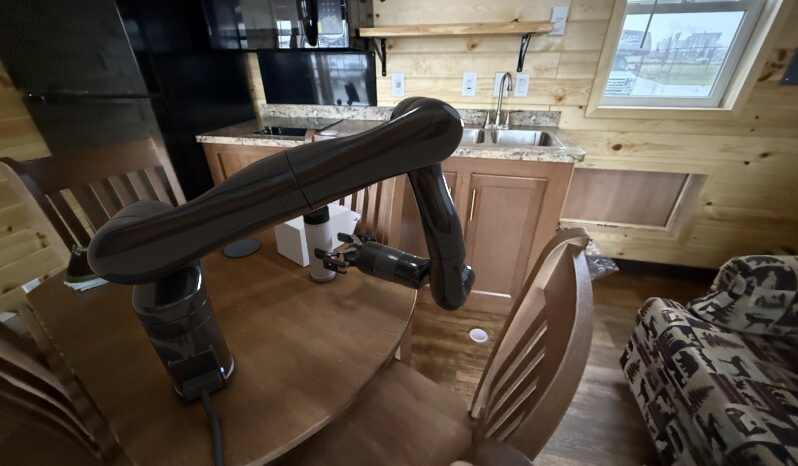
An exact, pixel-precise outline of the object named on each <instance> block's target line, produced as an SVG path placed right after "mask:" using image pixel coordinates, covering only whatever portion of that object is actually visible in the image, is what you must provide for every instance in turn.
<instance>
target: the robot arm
mask: <svg viewBox="0 0 798 466" xmlns="http://www.w3.org/2000/svg"><path fill="white" fill-rule="evenodd" d="M464 129H465V127H464V121H463V119H462V116H461V115H460V113H459V111H458V110H457V109H456V108H455V107H453V106H452V105H451V104H450V103H448V102H446V101H444V100H441V99H440V98H436V97H428V96H421V95H413V96H409V97H405V98H404V99H402V100H401V101H400V102H398V103H397V104H396V105H395V107H394V108H393V109H392V112H391V113H390V117H389V120H387V121H385V122H382V123H381V124H378V125H376V126H373V127H372V128H370V129H367V130H364V131H361V132H358V133H355V134H351V135H344V136H338V137H333V138H326V139H321V140H316V141H315V140H314V141H311V142H307V143H306V142H305V143H302V144H297V145H295V146H291V147H289V148H286V149H284V150H281V151H279V152H276V153H273V154H271V155H268V156H266V157H263V158H260V159H258V160H256V161H254V162H252V163H250V164H248V165H246V166H244V167H243V168H240V169H239V170H237V171H236V172H235V173H233V174H232V175H229V176H228V177H227V178H225V179H224V180H222V181H220V182H219V183H217V184H216V185H214V186H213V187H212V188H210V189H208V190H207V191H205V192H204V193H201V195H199V196H197V197H195V198H193V199H192V200H189V201H187V202H185V203H183V204H180V205H177V206H175V207H174V206H172V205H171V204H169V203H166V202H163V201H160V200H155V199H140V200H135V201H132V202H130V203H127V204H126V205H125V206H123V207H121V208H120V209H119V210H118V211H117V212H116V213H114V215H112V216H111V217H110V218H109V219H108V220H107V221H106V222H105V223H103V225H101V226H100V227H99V229H97V231H96V232H95V233H94V235H93V236H92V238H91V240H90V242H89V244H88V247H87V250H86V251H87V252H86V258H87V259H86V260H87V264H88V266H89V268H90V270H91V271H92V272H93V274H95V275H96V276H97V277H98V278H100V279H101V280H104V281H107V282H109V283H112V284H115V285H121V286H133V289H132V294H131V306H132V307H131V308H132V310H133V311H134V313H135V315H136V317H137V319H138V320H139V322H140V324H141V327H142V328H143V330H144V332H145V335H146V336H147V338H148V339H149V341H150V344H151V345H152V347H153V349H154V351H155V352H156V354H157V356H158V358H159V360H160V362H161V364H162V365H163V368H164V369H165V371H166V373H167V375H168V377H169V379H170V380H171V382H172V385H173V388H174V390H175V391H176V393H177V394H178V395H179V397H181V398H184V400H185V402H186V403H187V404H189V403H191V402H193V401H197V400H199V399H201V402H202V406H203V409H204V412H205V415H206V416H207V418H208V420H209V423H210V428H211V432H212V438H213V450H214V453H213V454H214V466H224V464H225V463H224V456H223V443H222V435H221V434H222V433H221V429H220V424H219V420H218V417H217V414H216V411H215V410H214V408H213V406H212V402H211V399H210V394H213V393H215V392H217V391H220V390H222V389H224V388H227V387H228V381H229V379H231V377H232V374H233V373H234V370H235V361H234V358H233V356H232V354H231V352H230V349H229V346H228V344H227V341H226V338H225V336H224V333H223V330H222V328H221V325H220V323H219V320H218V317H217V315H216V312H215V309H214V306H213V304H212V300H211V297H210V295H209V292H208V289H207V286H206V279H205V269H204V265H203V264H204V263H203V261H202V259H203V258H205V257H207V256H209V255H210V254H213V253H214V252H217V251H218V250H221V249H223V248H225V247H226V246H228V245H230V244H232V243H235V242H237V241H240V240H244V239H249V238H250V237H252V236H255V235H258V234H260V233H262V232H264V231H267V230H269V229H272V228H274V226H277V225H280V224H282V223H285V222H288V221H290V220H293V219H295V218H298V217H300V216H303V215H305V214H307V213H310V212H312V211H314V210H317V209H319V208H322V207H324V206H326V205H328V204H330V203H332V204H333V203H335V202H338V201H340V200H342V199H344V198H346V197H350V196H351V195H354V194H356V193H358V192H360V191H363V190H365V189H367V188H369V187H371V186H373V185H376V184H378V183H381V182H384V181H387V180H389V179H393V178H395V177H399V176H403V175H406V176H407V179H408V183H409V185H410V189H411V191H412V194H413V197H414V201H415V205H416V209H417V212H418V218H419V220H420V224H421V229H422V233H423V237H424V241H425V245H426V250H427V254H428V257H422V256H419V255H415V254H412V253H410V252H409V253H408V252H406V251H403V250H402V249H399V248H396V247H393V246H390V245H386V244H383V243H380V242H378V237H377V236H373V235H370V234H367V233H365V232H361V231H357V232H356V234H354V233H353V234H352V235H349V234H345V233H341V232H339V233H338V234H337V239H338V240H339V241H341V242H344V244H348V245H347V247H345V248H343V249H342V248H341V249H336V250H335V251H333V252H328V251H325V250H322V249H319V248H315V249H314V255H315V257H316V258H318V259H321V260H323V268H324V269H327V270H330V271H334V272H335V273H337V274H341V275H346V274H348V269H349V268H356V269H358V270H359V271H360V273H362V274H365V275H366V276H367V275H368V276H370V277H373V278H376V279H379V280H382V281H385V282H387V283H393V284H397V285H399V286H402V287H405V288H408V289H411V290H414V291H420V290H422V289H424V288H425V287H426V286H427V285H429V291H430V295H431V298H432V300H433V301H434V303H435V305H437V307H439V308H440V309H441V310H443V311H445V312H451V313H452V312H457V311H459V310H461V309H462V308H463V307H464V306H465V305H466V303H467V301H468V299H469V297H470V294H471V292H472V291H473V288H474V286H475V284H476V281H477V276H476V272H475V271H474V269H473V268H472V267H471V265H469V264H467V263H466V262H465V260H466V256H467V251H466V250H467V249H466V243H465V237H464V230H463V225H462V222H461V221H462V220H461V219H460V215H459V212H458V210H457V206H456V205H455V202H454V199H453V198H452V195H451V193H450V190H449V187H448V185H447V181H446V178H445V175H444V170H443V166H442V162H444V161H446V160H447V159H449V158H450V157H451V156H452V155H453V154H454V152H456V151H457V149H458V148H459V146H460V145H461V142H462V139H463V136H464V131H465V130H464ZM341 255H342V258H343V259H341ZM333 256H334V257H336V258H334V259H332V258H331V257H333ZM329 264H331V265H329Z"/></svg>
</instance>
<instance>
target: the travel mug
mask: <svg viewBox="0 0 798 466" xmlns="http://www.w3.org/2000/svg"><path fill="white" fill-rule="evenodd" d="M303 222H304V229H305V236H306V243H307V250H308V256H309V263H310V264H309V270H310V276H311V279H312V280H313V281H315V282H316V283H317V282H318V283H326V282H329V281H331V280H332V279H333V278H334V277H335V276H336V272H334V271H330V270H327V269H324V268H323V260H321V259H318V258H316V257H315V255H314V249H315V248H319V249H322V250H325V251H328V252H334V250H333V244H332V234H331V224H330V216H329V207H328V205H326V206H324V207H322V208H319V209H317V210H314V211H312V212H310V213H307V214H305V215H303ZM331 258H332V259H335V256H333V257H331ZM329 265H331V264H329Z"/></svg>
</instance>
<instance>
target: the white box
mask: <svg viewBox="0 0 798 466" xmlns="http://www.w3.org/2000/svg"><path fill="white" fill-rule="evenodd" d="M328 207H329V216H330V224H331V234H332V244H333V251H334V250H335V249H337V248H338V247H340V246H342V245H344V244H345V243H344V242H341V241H339V240H338V239H337V234H338V233H339V232H341V233H345V234H349V235H352V234H354V231H355V229H356V227H357V223H358V221H359V220H360V219H361V213H359V212H356V211H353V210H351V209H349V208H348V207H347V206H344V205H342V204H340V205H338V204H335V203H333V202H332V203H330V204H328ZM273 230H274V235H275V241H276V246H277V247H276V248H277V252H278V254H280V255H281V256H283V257H286V258H287V259H289V260H290V261H292V262H294V263H296V264H298V265H300V266H301V267H303V268H305V267H307V266H308V265H309V266H310V263H309V256H308V250H307V243H306V236H305V229H304V222H303V216H300V217H298V218H295V219H293V220H290V221H288V222H285V223H282V224H280V225H277V226H274V227H273Z"/></svg>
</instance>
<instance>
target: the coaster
mask: <svg viewBox="0 0 798 466" xmlns="http://www.w3.org/2000/svg"><path fill="white" fill-rule="evenodd" d="M260 248H261V243H260V242H259V240H256V239H253V238H245V239H242V240H240V241H237V242H235V243H232V244H230V245H227V246H225V247H224V249H223V254H224V256H226V257H228V258H232V259H239V258H245V257H248V256H251V255H253V254H255V253H256V252H257V251H258V250H260Z"/></svg>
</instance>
